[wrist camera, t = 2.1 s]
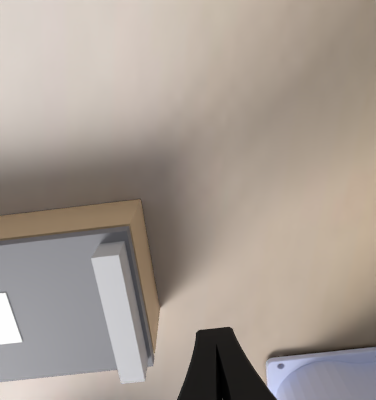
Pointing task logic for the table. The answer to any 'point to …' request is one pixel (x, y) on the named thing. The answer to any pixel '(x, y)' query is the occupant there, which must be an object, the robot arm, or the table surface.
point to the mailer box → (94, 220)
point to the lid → (72, 307)
